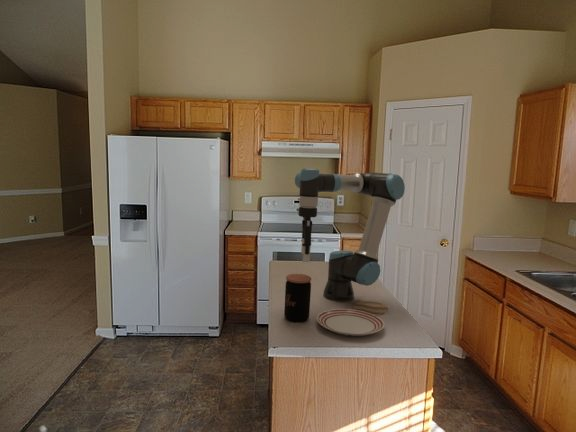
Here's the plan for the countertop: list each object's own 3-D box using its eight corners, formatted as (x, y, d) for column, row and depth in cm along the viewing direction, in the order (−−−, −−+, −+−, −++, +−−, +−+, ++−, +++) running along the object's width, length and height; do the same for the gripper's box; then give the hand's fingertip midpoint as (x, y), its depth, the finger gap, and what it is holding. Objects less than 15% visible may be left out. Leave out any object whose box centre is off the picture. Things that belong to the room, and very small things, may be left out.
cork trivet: (351, 301, 195) (351, 300, 195) (384, 303, 194) (385, 302, 194) (355, 313, 179) (355, 312, 179) (391, 315, 178) (391, 314, 178)
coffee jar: (281, 314, 174) (282, 274, 172) (304, 312, 177) (306, 273, 175) (288, 324, 164) (290, 281, 162) (312, 322, 167) (315, 280, 165)
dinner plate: (305, 317, 172) (306, 310, 172) (361, 312, 182) (361, 304, 182) (335, 345, 147) (335, 337, 147) (397, 337, 157) (398, 329, 156)
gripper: (297, 203, 175) (295, 250, 178) (300, 210, 150) (297, 265, 153) (314, 203, 175) (312, 251, 178) (320, 211, 150) (316, 266, 153)
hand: (305, 257), depth 166 cm, fingers open, 13 cm apart
